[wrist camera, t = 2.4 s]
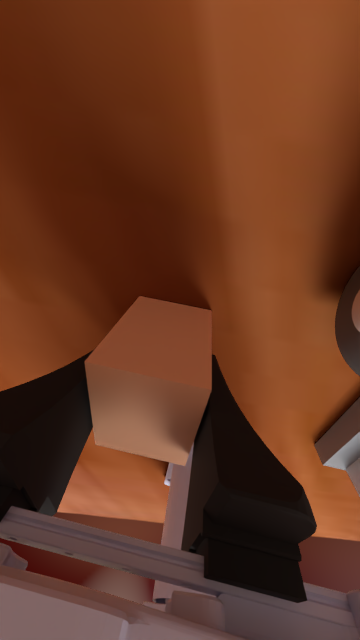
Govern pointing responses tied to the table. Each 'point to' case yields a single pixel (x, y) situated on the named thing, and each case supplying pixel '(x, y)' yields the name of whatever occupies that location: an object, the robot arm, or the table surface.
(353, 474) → the chassis
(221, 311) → the table surface
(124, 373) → the tan rectangular block
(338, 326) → the wheel
